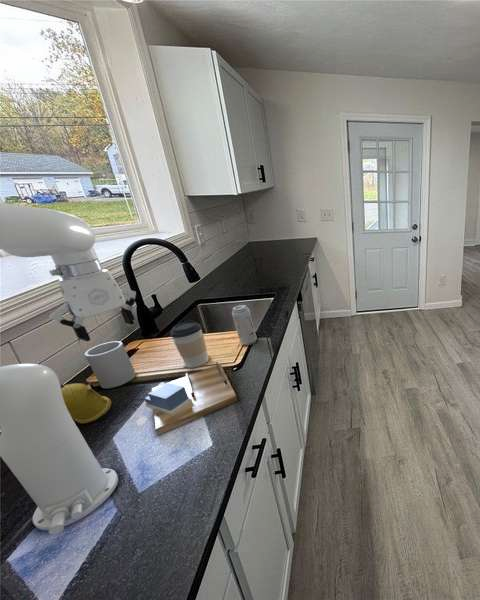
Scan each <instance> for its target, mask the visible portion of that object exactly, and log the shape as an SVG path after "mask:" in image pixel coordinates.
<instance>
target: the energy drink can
mask: <svg viewBox="0 0 480 600" xmlns="http://www.w3.org/2000/svg"><path fill="white" fill-rule="evenodd" d="M231 316H232V319H233V323H234V325H235V326H234V327H235V330H236V333H237V337H238V339H239V343H240V344H241V345H243V346H250V345H254V344H255V343H256V341H257V338H258V337H257V334H256V330H255V326H254V322H253V319H252V314H251V311H250V308H249V307H248V306H247V305H246V304H238V305H236V306H233V307H232V311H231Z"/></svg>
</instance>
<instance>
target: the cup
mask: <svg viewBox="0 0 480 600" xmlns="http://www.w3.org/2000/svg"><path fill="white" fill-rule="evenodd" d="M84 356H85V358H86V361H87V363H88V364H89V366H90V368H91V370H92V372H93V374H94V376H95V378H96V380H97V382H98V384H99V386H100V388H101V389H112V388H115V387H119V386H122V385H125V384H126V383H128V382H130V381H131V380H133V379H134V378H135V377H136V376H137V372H136V370H135V367H134V366H133V364H132V361H131V359H130V357H129V355H128V353H127V350H126V348H125V345H124V344H123V342H122V341H119V340H113V341H109V342H105V343H101V344H98V345H95V346H93V347H91V348H89V349H88V350H86V351H85V352H84ZM134 371H135V373H134ZM133 373H134V374H133Z"/></svg>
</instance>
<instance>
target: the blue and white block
mask: <svg viewBox="0 0 480 600" xmlns="http://www.w3.org/2000/svg"><path fill="white" fill-rule="evenodd" d="M161 385H162V386H160V385H159V386H160V387H158V388H157V389H155V390H153V391H152V390H151V391H150V392H148V393H147V395H148V396H146V397H144V399H143V400H144V401H145V403H144V405H145V407H146V408H149V409H152V410H153V409H154V410H157V411H161V412H164V413H167V414H170V415H175V414H176V413H177V412H179V411H180V410H182V409H183V408H185V407H186V406H187V405H189V404H190V403H192V399H191V398H188V395H187V393H186V390H185V388H184V387H183V386H179V385H175V384H171V383H168V382H167V381H166V382H165V383H163V384H161ZM154 410H153V411H154Z"/></svg>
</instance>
